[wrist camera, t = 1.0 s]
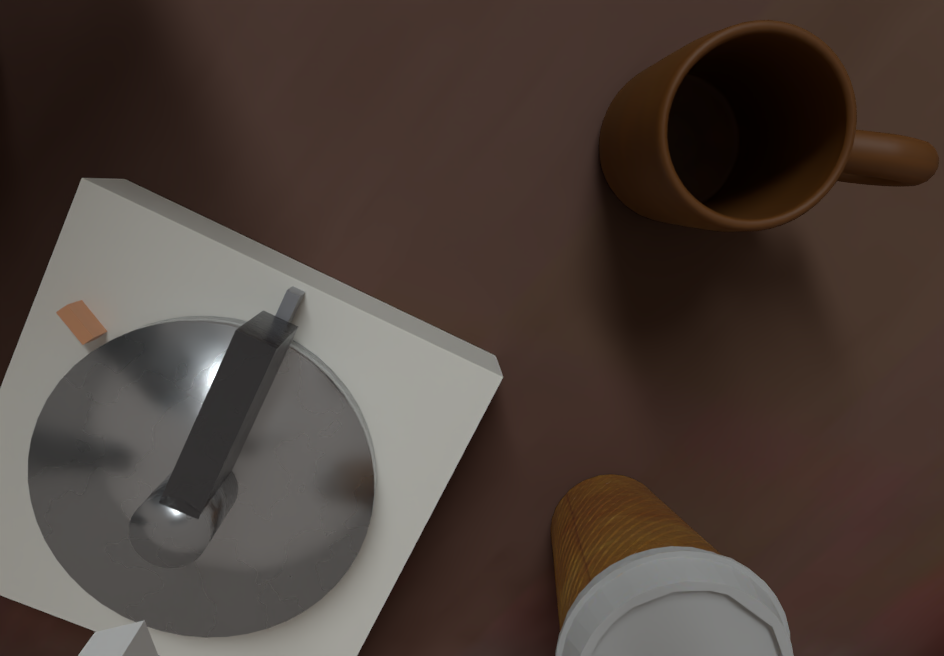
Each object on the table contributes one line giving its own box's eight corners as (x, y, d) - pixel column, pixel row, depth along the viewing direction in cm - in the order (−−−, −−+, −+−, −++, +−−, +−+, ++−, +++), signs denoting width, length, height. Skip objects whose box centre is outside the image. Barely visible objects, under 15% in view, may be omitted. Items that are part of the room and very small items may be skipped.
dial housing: (-15, 526, 35) (-90, 583, 30) (124, 179, 32) (66, 177, 27) (335, 663, 38) (320, 737, 33) (495, 355, 35) (505, 384, 30)
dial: (298, 662, 33) (272, 751, 28) (-1, 546, 31) (-89, 618, 26) (440, 383, 31) (440, 423, 26) (125, 236, 29) (55, 247, 24)
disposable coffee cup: (712, 565, 38) (835, 733, 26) (557, 627, 38) (609, 820, 27) (659, 419, 36) (766, 530, 24) (495, 485, 36) (523, 626, 25)
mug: (846, 94, 33) (1003, 59, 24) (806, 247, 35) (940, 269, 25) (611, 50, 32) (681, -5, 23) (580, 209, 34) (634, 217, 24)
